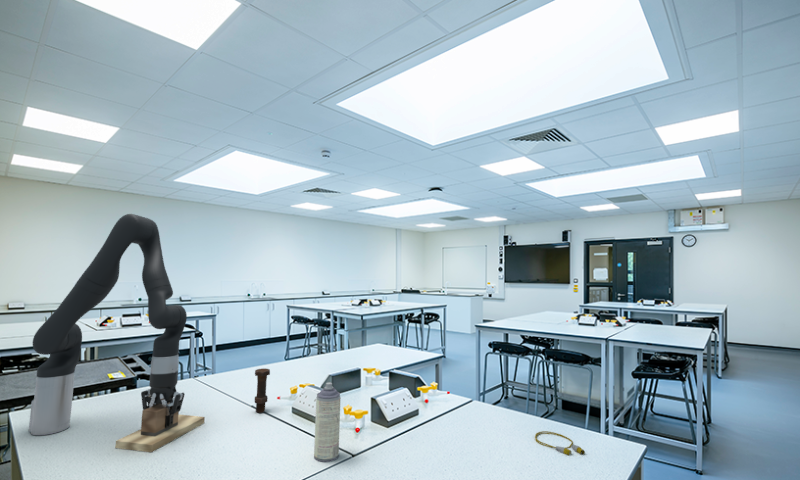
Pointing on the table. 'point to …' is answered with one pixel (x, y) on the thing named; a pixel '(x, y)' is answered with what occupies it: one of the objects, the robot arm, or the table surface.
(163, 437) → the pine board
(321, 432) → the aerosol can
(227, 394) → the table surface
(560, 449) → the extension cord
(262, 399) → the bolt
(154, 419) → the block
